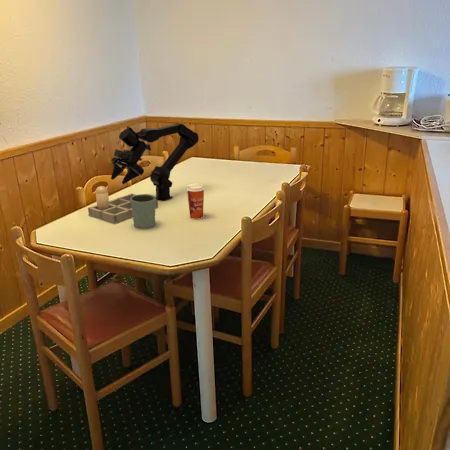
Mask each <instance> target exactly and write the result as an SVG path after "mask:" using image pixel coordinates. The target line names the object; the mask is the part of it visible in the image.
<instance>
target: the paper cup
mask: <svg viewBox="0 0 450 450" xmlns="http://www.w3.org/2000/svg"><path fill="white" fill-rule="evenodd" d="M186 187H187V188H186V192H187V202H188V208H189V210H188V212H189V217H191V219H192V218H200V219H202V218H203V217H204V200H205V197H204V195H205V193H204V192H205V189H206V188H205V186H204V184H201V183H190V184H188V185H187V186H186ZM201 217H202V218H201Z"/></svg>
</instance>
